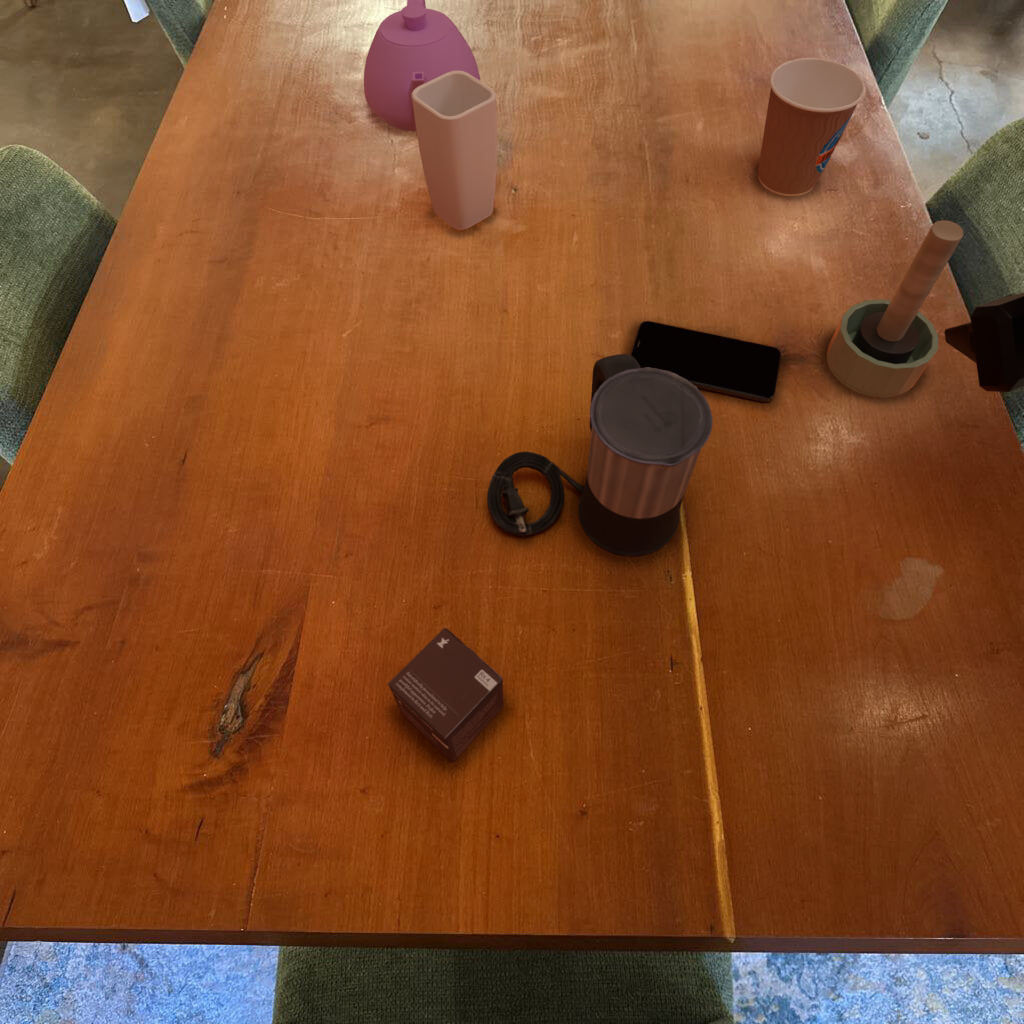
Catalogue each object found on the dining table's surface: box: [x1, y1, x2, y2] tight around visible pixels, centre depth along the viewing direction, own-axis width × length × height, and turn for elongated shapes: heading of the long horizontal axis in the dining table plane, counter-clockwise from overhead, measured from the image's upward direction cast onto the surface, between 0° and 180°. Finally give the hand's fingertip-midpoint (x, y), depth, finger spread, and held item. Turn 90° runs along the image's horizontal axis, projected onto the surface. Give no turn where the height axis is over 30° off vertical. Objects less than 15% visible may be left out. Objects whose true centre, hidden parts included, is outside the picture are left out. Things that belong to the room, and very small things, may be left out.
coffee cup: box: [757, 57, 866, 197], centre depth 89 cm, size 10×10×12 cm
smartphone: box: [629, 320, 782, 403], centre depth 79 cm, size 7×1×15 cm
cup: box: [412, 71, 498, 231], centre depth 86 cm, size 7×7×15 cm
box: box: [387, 627, 504, 763], centre depth 58 cm, size 6×6×7 cm
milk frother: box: [486, 353, 714, 557], centre depth 64 cm, size 14×16×15 cm
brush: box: [852, 219, 964, 364], centre depth 71 cm, size 6×6×16 cm
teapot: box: [363, 0, 481, 133], centre depth 99 cm, size 22×16×12 cm
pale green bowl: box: [826, 298, 940, 399], centre depth 77 cm, size 9×9×4 cm
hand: (991, 318), depth 63 cm, fingers open, 9 cm apart
